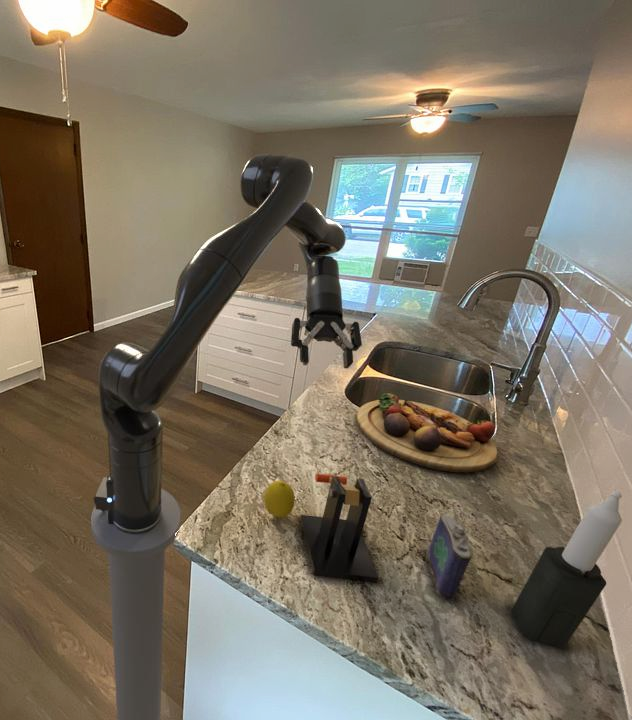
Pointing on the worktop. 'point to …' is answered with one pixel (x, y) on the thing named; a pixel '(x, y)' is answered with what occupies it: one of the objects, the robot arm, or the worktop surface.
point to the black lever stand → (340, 537)
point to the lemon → (279, 499)
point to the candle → (567, 579)
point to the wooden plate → (427, 435)
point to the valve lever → (349, 491)
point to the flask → (448, 556)
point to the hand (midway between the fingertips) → (326, 365)
